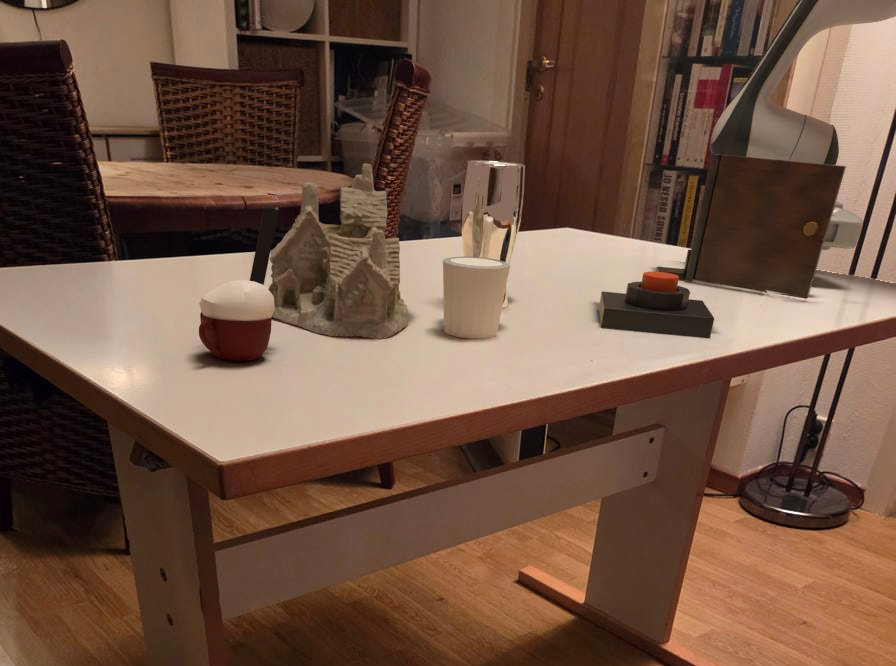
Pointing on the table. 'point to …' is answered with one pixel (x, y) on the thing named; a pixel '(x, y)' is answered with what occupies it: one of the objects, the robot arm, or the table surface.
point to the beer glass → (492, 209)
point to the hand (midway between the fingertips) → (793, 233)
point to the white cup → (473, 295)
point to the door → (763, 223)
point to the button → (660, 281)
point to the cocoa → (242, 306)
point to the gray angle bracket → (677, 269)
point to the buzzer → (655, 312)
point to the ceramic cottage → (340, 267)
